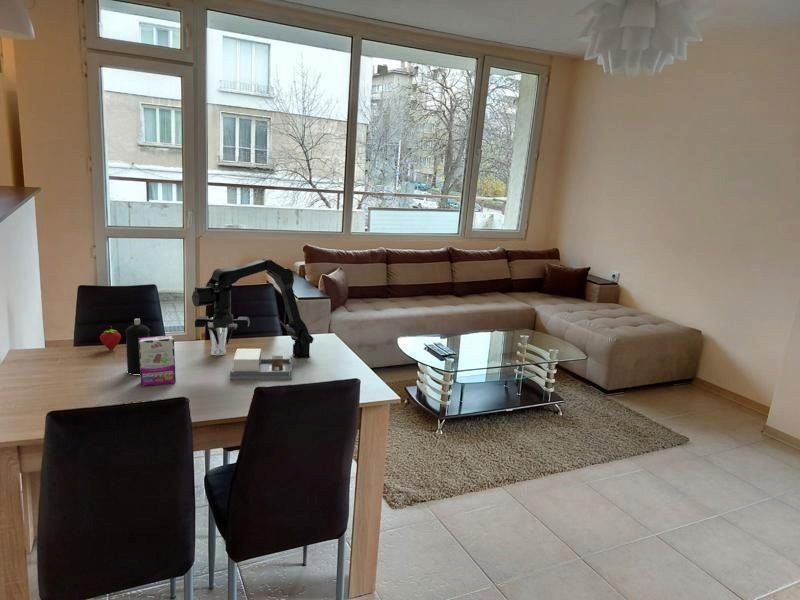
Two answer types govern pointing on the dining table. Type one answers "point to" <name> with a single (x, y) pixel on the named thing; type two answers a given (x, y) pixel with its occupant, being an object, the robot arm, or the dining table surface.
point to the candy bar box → (157, 360)
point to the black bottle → (135, 345)
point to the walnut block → (277, 362)
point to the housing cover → (247, 360)
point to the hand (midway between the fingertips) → (222, 344)
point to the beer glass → (219, 348)
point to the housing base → (265, 371)
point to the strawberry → (110, 338)
